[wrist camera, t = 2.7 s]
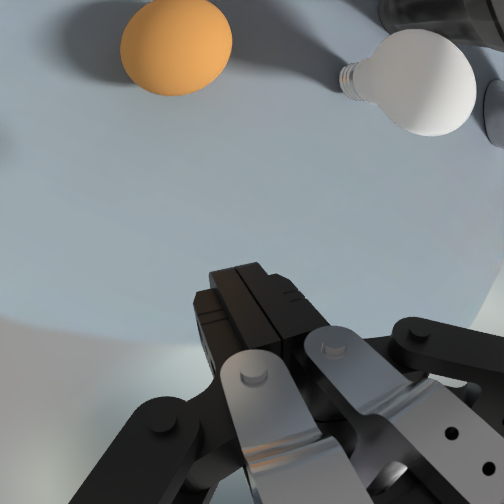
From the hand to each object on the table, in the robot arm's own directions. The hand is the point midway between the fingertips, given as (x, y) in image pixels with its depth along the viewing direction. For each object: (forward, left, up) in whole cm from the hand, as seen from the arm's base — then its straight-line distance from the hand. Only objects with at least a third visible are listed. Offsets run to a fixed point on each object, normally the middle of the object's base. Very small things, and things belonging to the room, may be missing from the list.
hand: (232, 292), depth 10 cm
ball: (0, -10, -9) cm, 13 cm away
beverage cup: (-19, -15, -13) cm, 27 cm away
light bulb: (-13, -8, -13) cm, 20 cm away
